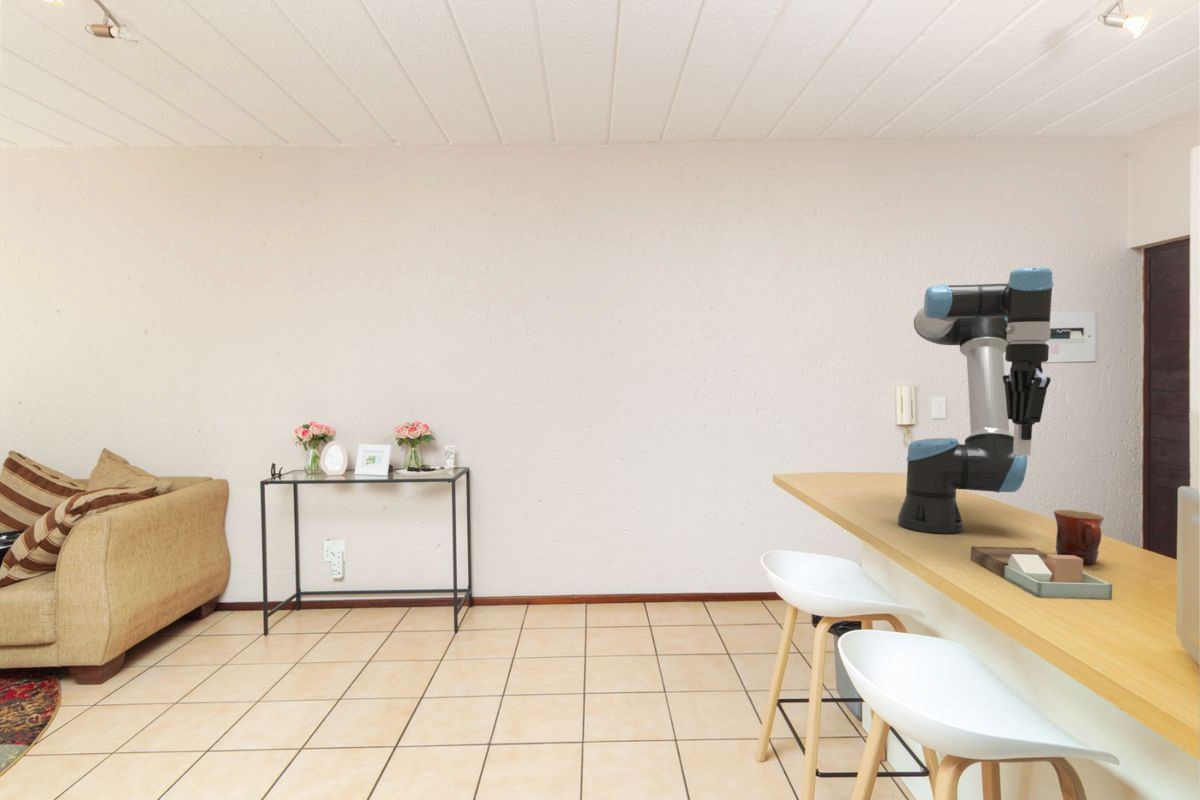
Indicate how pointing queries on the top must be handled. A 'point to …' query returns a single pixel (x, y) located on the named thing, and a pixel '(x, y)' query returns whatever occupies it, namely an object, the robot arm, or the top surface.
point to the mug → (1078, 534)
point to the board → (1000, 557)
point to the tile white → (1030, 566)
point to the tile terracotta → (1065, 568)
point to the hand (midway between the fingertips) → (1021, 454)
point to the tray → (1060, 586)
